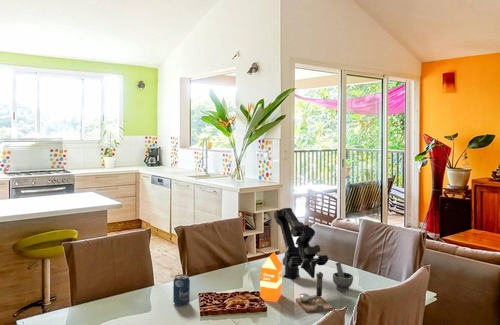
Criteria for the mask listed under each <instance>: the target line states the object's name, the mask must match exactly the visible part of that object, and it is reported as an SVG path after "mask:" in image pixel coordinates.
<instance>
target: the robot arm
mask: <svg viewBox="0 0 500 325" xmlns="http://www.w3.org/2000/svg"><path fill="white" fill-rule="evenodd" d="M273 218H274V220H275V222H276V223H277V225H279V227H280V230H281V234H282V238H283V242H284V246H285V251H284V252H285V253H284V256H283V259H282V266H284V274H283V276H282V278H286V279H291V280H296V279H297V278H299V277H300V268H301V269H303V270H304V271H305V272H306V273H307V274H308V276H309V277H311V278H312V279H314V278H315V277H316V276H315V274H316V267H317V265H318V266H325V265H326V264H327V263H328V261H329V256H328V255H327V254H319V255H318V253H320V252H321V250H322V249H321V247H320V244H315V245H314V246H310V243H311V241H312V240H313V238H314V237H315V235H316V231H315V229H314V228H313V227H311V226H310V224H304V222H301V221H300V220H299V219H298V218H297V216H296V215H295V213H294V212H293V208H292V207H283V208H281V209H279V210H278V209H277V210H275V211H274V212H273ZM293 237H294V238H297V239H296V240H295V242H294V238H293ZM296 245H297V246H296ZM316 254H317V255H318V256H317V257H316ZM299 266H300V268H299Z"/></svg>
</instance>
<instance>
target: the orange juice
mask: <svg viewBox="0 0 500 325" xmlns="http://www.w3.org/2000/svg"><path fill="white" fill-rule="evenodd" d="M282 271H283V263H282V262H281V261H280V259H279V257H278V256H277V254H276V252H275V251H273V253H271V254H270V255H269V256H268V258H267V259H266V260H265V261H264V262H263V264H262V265H261V267H260V283H259V284H260V288H259V289H260V291H259V292H260V293H259V294H260V295H259V296H260V297H261V298H262V299H264V300H263V301H269V302H274V303H277V302H278V300H279V299H280V297H281V296H282V284H283V283H282V282H283V276H282V275H283V272H282ZM260 297H259V298H260Z"/></svg>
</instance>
